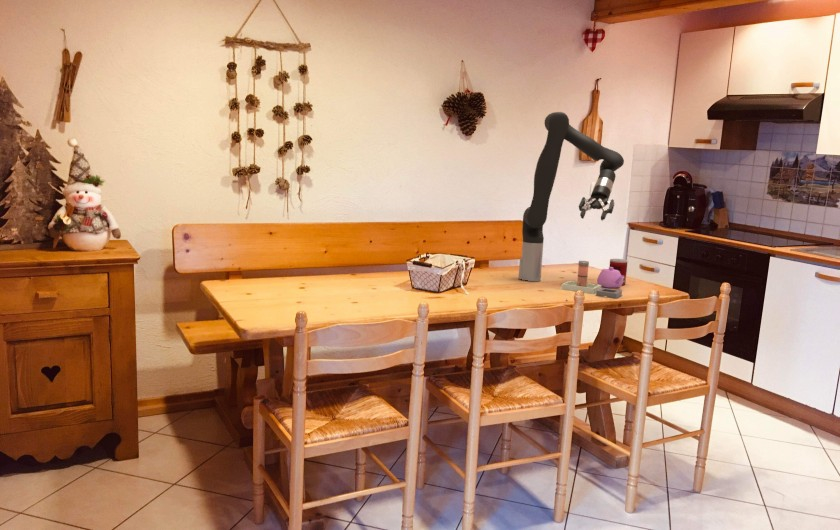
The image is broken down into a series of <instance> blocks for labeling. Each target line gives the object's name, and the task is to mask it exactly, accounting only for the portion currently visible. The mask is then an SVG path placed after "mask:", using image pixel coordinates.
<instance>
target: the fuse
mask: <svg viewBox="0 0 840 530" xmlns="http://www.w3.org/2000/svg"><path fill="white" fill-rule="evenodd" d="M589 263H590V261H587V260H579V261H578V267H577V269H578V270H577V281H576V282H577V286H582V287H587V283H588V273H589V265H590V264H589Z"/></svg>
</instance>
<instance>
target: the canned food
mask: <svg viewBox="0 0 840 530" xmlns="http://www.w3.org/2000/svg"><path fill="white" fill-rule="evenodd" d="M609 267H613V269H614V270H618V271H620V273H621V275H623V276H624V278H623V284H622V286H625V285H626V282H627V273H628V260H627V259H622V258H610V259H609ZM609 267H608V268H609Z"/></svg>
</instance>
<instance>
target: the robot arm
mask: <svg viewBox="0 0 840 530" xmlns="http://www.w3.org/2000/svg"><path fill="white" fill-rule="evenodd" d="M544 127H545V129H546V130H547V136H546V141H545V144H544V146H543V149H542V150H541V152H540V154H539V157H538V160H537V163H536V166H535V167H536V168H535V169H534V176H533V193H532V194H533V196H532V200H531V204H530V206H529V207H527V208H526V209H525V210H524V212H523V215H522V228H521V229H522V230H521V231H522V245H521V246H522V248H521V257H520V258H519V265H518V267H519V268H518V280H521V279H522V281H525V280H528V281H527V282H540V281H541V279H542V266H543V265H542V264H543V254H544V253H543V252H544V232H543V230H544V229H543V228H544V225H545V224H546V222H547V218H548V210H549V203H550V199H551V198H550V197H551V195H552V191H553V186H554V184H555V180H556V176H557V171H558V167H559V163H560V158H561V152H562V147H563V143H564V141H566V142H568V143H570V144H572V145H573V146H574V147H575V148H577V149H578V150H579V151H581V152H582V153H584V154H585V155H586V156H588V157H589V158H591V160H594V161H597V162H598V161H600V160H602V161H601V162H600V165H599V174H598V177H597V180H596V182H595V184H594V186H593V189H592V191H591V195H590V197H589V198H586V197H584V196H583V197H582V198H581V200H580V203H578V209H579V212H580V215H579V216H580V218H581V219H585V215H586V213H587V212H588V211H591V210H592V209H593V210H602V213H601V216H600V220H601V221H604V220H605V219H606V218H607V215H608V214H612V213H613V212H614V211H613V210H614V207H615V200H614V199H613V198H612V199H611V200H609V198H610V196H611V193H612V190H613V185H614V183H615V180H616V178H617V177H616V173H615V172H616V171H617V170H619V169H620V168H621V167H622V166H624V163H625V160H624V156H622V154H621V153H619V152H618V151H615V150H612V149H609V148H608V147H605V146H603V145H602V144H600V143H599V142H597V141H596V140H595V139H594V138H592V137H590V136H588V135H587V134H584V133H583V132H581V131H579V130H578V129H576V128H575V127H573V126H572V125H571V124H570V118H569V116H568V115H567V114H566V113H565V112H563V111H555V112H551V113H549V114H547V116H545V118H544ZM606 206H608V208H607V207H606Z"/></svg>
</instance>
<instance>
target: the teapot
mask: <svg viewBox="0 0 840 530" xmlns="http://www.w3.org/2000/svg"><path fill="white" fill-rule="evenodd" d="M623 278H624V276H623V275H621V273H620V271H618V270H614V269H613V267H608V268H603V269H601V271H600V273H599V274H598V276H597V278H596V279H597V280H596V284H597V285H601V288H607V289H614V288H615V289H617V288H621V287H622V286H623V285H622V284H623Z"/></svg>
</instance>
